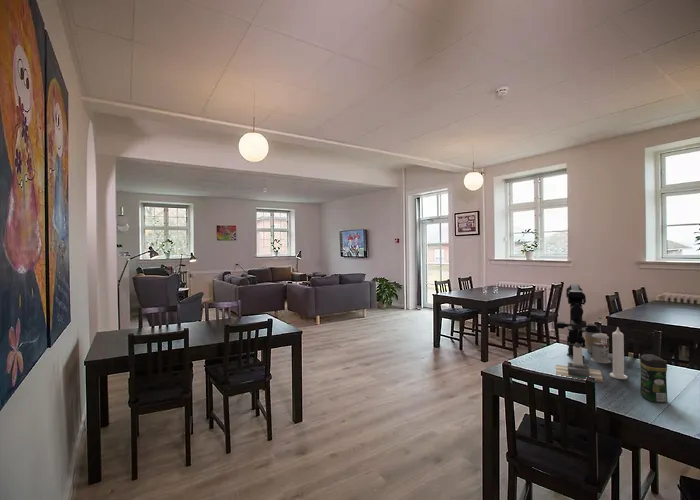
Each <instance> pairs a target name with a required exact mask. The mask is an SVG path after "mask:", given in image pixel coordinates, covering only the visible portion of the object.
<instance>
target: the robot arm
mask: <svg viewBox="0 0 700 500" xmlns="http://www.w3.org/2000/svg"><path fill="white" fill-rule="evenodd" d="M580 286H581V285H580V284H572V283H571V284H569V286H568V287H567V288H566V289H565V296H566V298H567V303H568V304H569V316H570V317H569V323H565V321H559V320H558V321H557V322H556V329H561V330H562V329H565V328H567V331H568V335H566V346H567V353H566V355H567V356H570V357H572V358H573V346H574V344H575V343H579V344H580V345H581V347H582V348H585V347H586V339H585V336H583V333H585V329H589V330H590V331H597V327H598V325H597V324H596V323H587V320H583V314H584V308H583V305H585V304H586V303H587V300H586V298H587V297H586V294H585V293H584V292H583V289H582V288H581V287H580ZM582 357H583V358H585V356H584V355H582Z"/></svg>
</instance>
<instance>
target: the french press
mask: <svg viewBox="0 0 700 500" xmlns="http://www.w3.org/2000/svg"><path fill="white" fill-rule="evenodd" d="M598 319H599V320H602V319H603V318H602V316H598V317H597V320H598ZM592 337H594V338H598V339H600V342H593V345H592V353H591V355H592V357H591V358H590V361H592V362H595V363H600V364H611V363H612V361H611V360H610V358H609V357H610V356H609V354H610V353H609V352H610V351H609V347H610V345H609V343H610V341H609V338H610V337H609V336H608V335H607V334H605V333H602V332H601V333H598V334H593V335H592ZM601 340H604V341H605V342H603V341H601ZM607 342H608V343H607ZM594 346H597V347H594ZM598 347H599V348H598Z"/></svg>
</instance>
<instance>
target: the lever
mask: <svg viewBox="0 0 700 500" xmlns="http://www.w3.org/2000/svg"><path fill="white" fill-rule="evenodd" d="M582 356H583V347H581V345H580V344H579V343H575V344H574V346H573V357H572V359H573V360H572V361H573V362H572V363H573V364H575V365H583V364H584V363H583V361H584V360H583V358H584V357H582Z"/></svg>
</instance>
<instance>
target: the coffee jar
mask: <svg viewBox="0 0 700 500" xmlns="http://www.w3.org/2000/svg"><path fill="white" fill-rule="evenodd" d="M639 364H640V365H639V366H640V387H639V388H640V390H639V391H640V395H641V396H642V397H643V398H644V399H646V400H647V401H650V402H654V403H659V404H662V403H667V402H668V387H667V370H668V364H667V361H666V360H665V359H663V358H661V357H659V356H657V355H655V354H652V353H651V354H647V353H643V354H642V355H640V359H639Z"/></svg>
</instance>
